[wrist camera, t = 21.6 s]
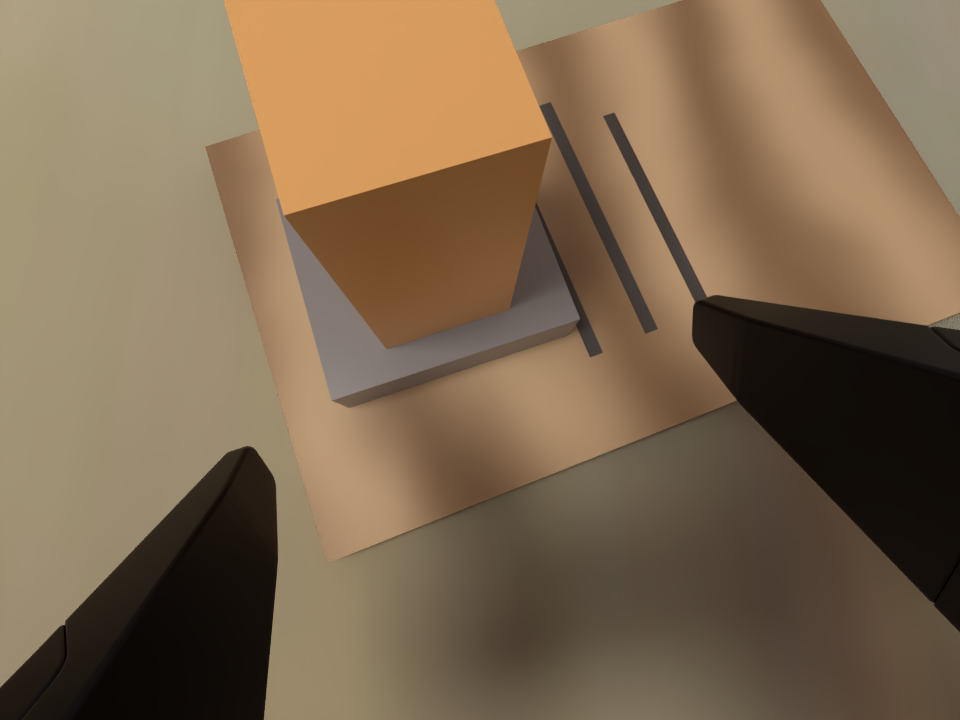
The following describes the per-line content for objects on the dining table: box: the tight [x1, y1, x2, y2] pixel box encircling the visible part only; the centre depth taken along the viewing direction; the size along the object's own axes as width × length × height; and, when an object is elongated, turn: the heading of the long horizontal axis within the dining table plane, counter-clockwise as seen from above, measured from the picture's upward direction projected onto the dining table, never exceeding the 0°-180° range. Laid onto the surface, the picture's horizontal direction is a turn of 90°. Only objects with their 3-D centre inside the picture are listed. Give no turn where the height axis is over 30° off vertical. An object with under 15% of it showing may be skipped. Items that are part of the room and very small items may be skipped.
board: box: [206, 0, 960, 563], centre depth 18 cm, size 26×16×1 cm, turn 111°
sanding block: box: [224, 0, 580, 408], centre depth 12 cm, size 8×7×10 cm
